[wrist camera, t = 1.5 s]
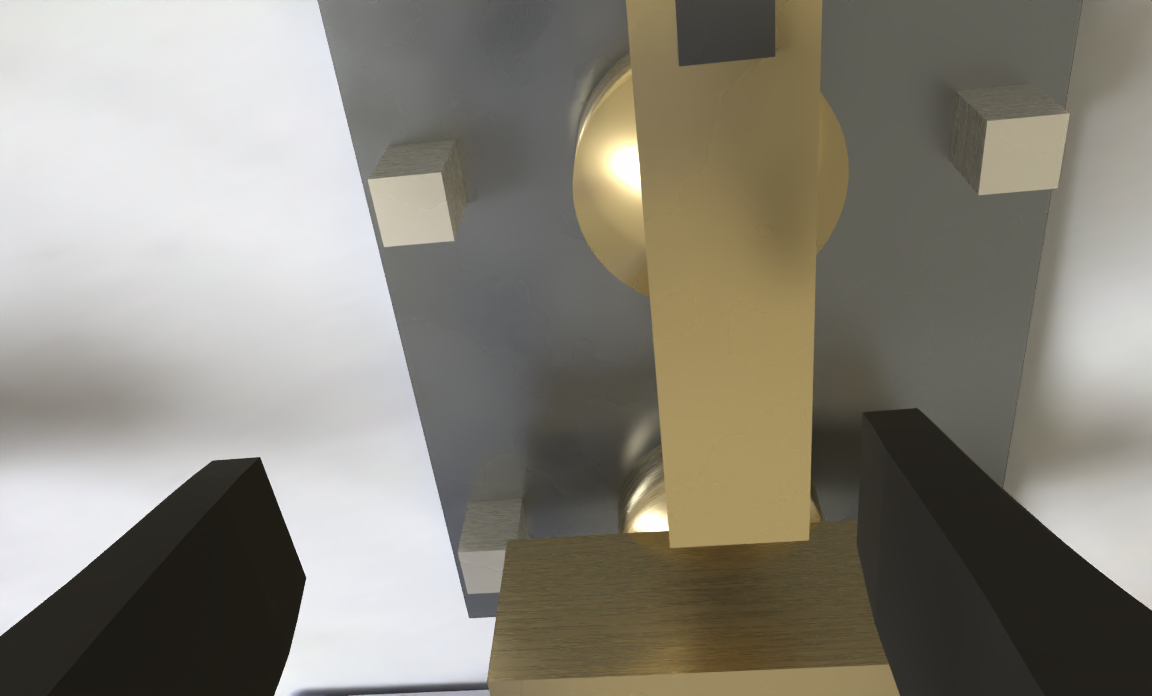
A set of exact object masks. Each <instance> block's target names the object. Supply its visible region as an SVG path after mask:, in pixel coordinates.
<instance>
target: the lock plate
mask: <svg viewBox="0 0 1152 696" xmlns="http://www.w3.org/2000/svg"><path fill="white" fill-rule="evenodd" d="M1082 1H1083V0H822V33H821V74H820V91H821V93H822V94H823V96H824V97H825V99H826V100H827V102H828V104H829V105H830V107H831V108H832V110H833V112H834V114H835V116H836V118H837V120H838V122H839V124H840V127H841V130H842V133H843V136H844V139H845V142H846V148H847V153H848V164H849V178H848V187H847V194H846V198H845V202H844V206H843V209H842V212H841V214H840V217H839V219H838V222H837V224H836V226H835V228H834V230H833V232H832V234H831V235H830V237H829V239H828V240H827V242H826V243H825V245H824V246H823V247H822V249H821V250H820V251H819V253H818V254H817V255H816V280H815V321H814V362H813V403H812V444H811V485H810V526H809V540H807V541H789V542H771V543H753V544H735V545H717V546H699V547H681V548H670V541H669V529H668V517H667V504H666V492H665V479H664V467H663V455H662V442H661V430H660V417H659V405H658V393H657V380H656V368H655V355H654V343H653V331H652V318H651V306H650V297H648V296H646V295H644V294H642V293H639V292H637V291H635V290H634V289H632V288H631V287H629V286H627V285H626V284H624V283H623V282H621V281H620V280H619V279H618V278H616V277H615V276H614V275H613V274H612V273H611V272H609V271H608V270H607V268H606V267H605V266H604V265H603V264H602V263H601V262H600V261H599V260H598V258H597V257H596V255H595V254H594V253H593V251H592V250H591V248H590V247H589V245H588V243H587V241H586V239H585V237H584V235H583V233H582V231H581V228H580V225H579V222H578V219H577V216H576V211H575V206H574V201H573V172H574V162H575V153H576V144H577V135H578V131H579V126H580V122H581V118H582V116H583V113H584V110H585V108H586V105H587V103H588V101H589V99H590V97H591V95H592V93H593V92H594V90H595V88H596V87H597V85H598V84H599V83H600V81H601V80H602V78H603V77H604V76H605V74H606V73H607V72H608V71H609V70H610V69H611V68H612V67H613V66H614V65H615V64H616V63H617V62H618V61H619V60H620V59H621V58H623V57H624V56H625V55H626V54H628V53H629V52H630V45H629V33H628V21H627V8H626V0H318V4H319V8H320V12H321V16H322V20H323V24H324V28H325V33H326V37H327V41H328V45H329V49H330V53H331V57H332V61H333V65H334V69H335V73H336V77H337V81H338V86H339V90H340V94H341V98H342V102H343V106H344V110H345V114H346V118H347V122H348V126H349V130H350V134H351V139H352V143H353V147H354V151H355V155H356V159H357V163H358V167H359V171H360V175H361V179H362V183H363V187H364V191H365V196H366V200H367V204H368V208H369V212H370V216H371V220H372V224H373V228H374V232H375V236H376V240H377V244H378V249H379V253H380V257H381V261H382V265H383V269H384V273H385V277H386V281H387V285H388V289H389V293H390V297H391V301H392V306H393V310H394V314H395V318H396V322H397V326H398V330H399V334H400V338H401V342H402V346H403V350H404V354H405V359H406V363H407V367H408V371H409V375H410V379H411V383H412V387H413V391H414V395H415V399H416V403H417V407H418V412H419V416H420V420H421V424H422V428H423V432H424V436H425V440H426V444H427V448H428V452H429V456H430V460H431V464H432V469H433V473H434V477H435V481H436V485H437V489H438V493H439V497H440V501H441V505H442V509H443V513H444V517H445V522H446V526H447V530H448V534H449V538H450V542H451V546H452V550H453V554H454V558H455V562H456V566H457V570H458V574H459V579H460V583H461V587H462V591H463V595H464V599H465V603H466V607H467V611H468V615H469V618H482V617H496V622H495V629H494V636H493V643H492V650H491V657H490V664H489V671H488V678H487V684H488V688H489V692H490V696H900V694H899V691H898V689H897V686H896V683H895V680H894V677H893V674H892V672H891V669H890V666H889V663H888V660H887V658H886V655H885V652H884V649H883V646H882V643H881V641H880V638H879V635H878V632H877V629H876V626H875V623H874V619H873V615H872V611H871V606H870V602H869V598H868V594H867V589H866V585H865V580H864V576H863V571H862V567H861V562H860V557H859V553H858V548H857V524H858V502H859V481H860V460H861V438H862V417H863V412H871V411H884V410H898V409H911V408H918V409H919V410H920V411H922V412H923V413H924V414H925V415H926V416H927V417H928V418H929V419H930V420H931V421H932V422H934V423H935V424H936V425H937V426H938V427H939V428H940V429H941V430H942V431H943V432H944V433H945V434H946V435H947V436H948V437H949V438H950V439H951V440H952V441H953V442H954V443H955V444H956V445H957V446H958V447H959V448H960V449H961V450H962V451H963V452H964V453H965V454H967V455H968V456H969V457H970V458H971V459H972V460H973V461H974V462H975V463H976V464H977V465H978V466H979V467H980V468H981V469H982V470H983V471H984V472H985V473H987V474H988V475H989V476H990V477H991V478H992V479H993V480H994V481H995V482H996V483H997V484H998V485H999V486H1000V487H1002V488H1003V484H1004V478H1005V472H1006V466H1007V460H1008V454H1009V447H1010V441H1011V435H1012V429H1013V423H1014V417H1015V411H1016V405H1017V399H1018V392H1019V386H1020V380H1021V374H1022V368H1023V362H1024V356H1025V350H1026V343H1027V337H1028V331H1029V325H1030V319H1031V313H1032V307H1033V301H1034V295H1035V288H1036V282H1037V276H1038V270H1039V264H1040V258H1041V252H1042V246H1043V239H1044V233H1045V227H1046V221H1047V215H1048V209H1049V203H1050V197H1051V191H1052V189H1056V188H1058V183H1059V177H1060V171H1061V165H1062V159H1063V153H1064V147H1065V141H1066V135H1067V129H1068V123H1069V117H1070V113H1069V112H1068V111H1066V110H1065V105H1066V99H1067V93H1068V87H1069V80H1070V74H1071V68H1072V62H1073V56H1074V50H1075V44H1076V38H1077V31H1078V25H1079V19H1080V13H1081V7H1082Z"/></svg>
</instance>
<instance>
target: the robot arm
mask: <svg viewBox="0 0 1152 696" xmlns="http://www.w3.org/2000/svg"><path fill="white" fill-rule="evenodd" d="M857 548H858V553H859V557H860V562H861V567H862V571H863V576H864V580H865V585H866V589H867V594H868V598H869V602H870V606H871V611H872V615H873V619H874V623H875V626H876V629H877V632H878V635H879V638H880V641H881V643H882V646H883V649H884V652H885V655H886V658H887V660H888V663H889V666H890V669H891V672H892V674H893V677H894V680H895V683H896V686H897V689H898V691H899V694H900V696H1152V610H1150V609H1149V608H1148V607H1146V606H1145V605H1144V604H1142V603H1141V602H1139V601H1138V600H1137V599H1135V598H1134V597H1132V596H1131V595H1130V594H1128V593H1127V592H1126V591H1124V590H1123V589H1122V588H1120V587H1119V586H1118V585H1117V584H1115V583H1114V582H1113V581H1112V580H1110V579H1109V578H1108V577H1106V576H1105V575H1104V574H1103V573H1101V572H1100V571H1099V570H1098V569H1096V568H1095V567H1094V566H1092V565H1091V564H1090V563H1089V562H1087V561H1086V560H1085V559H1083V558H1082V557H1081V556H1080V555H1079V554H1077V553H1076V552H1075V551H1074V550H1073V549H1071V548H1070V547H1069V546H1068V545H1067V544H1065V543H1064V542H1063V541H1062V540H1061V539H1059V538H1058V537H1057V536H1056V535H1055V534H1054V533H1052V532H1051V531H1050V530H1049V529H1048V528H1047V527H1046V526H1044V525H1043V524H1042V523H1041V522H1040V521H1039V520H1038V519H1036V518H1035V517H1034V516H1033V515H1032V514H1031V513H1030V512H1028V511H1027V510H1026V509H1025V508H1024V507H1023V506H1022V505H1020V504H1019V503H1018V502H1017V501H1016V500H1015V499H1014V498H1013V497H1011V496H1010V495H1009V494H1008V493H1007V492H1006V491H1005V490H1004V489H1003V488H1002V487H1000V486H999V485H998V484H997V483H996V482H995V481H994V480H993V479H992V478H991V477H990V476H989V475H988V474H987V473H985V472H984V471H983V470H982V469H981V468H980V467H979V466H978V465H977V464H976V463H975V462H974V461H973V460H972V459H971V458H970V457H969V456H968V455H967V454H965V453H964V452H963V451H962V450H961V449H960V448H959V447H958V446H957V445H956V444H955V443H954V442H953V441H952V440H951V439H950V438H949V437H948V436H947V435H946V434H945V433H944V432H943V431H942V430H941V429H940V428H939V427H938V426H937V425H936V424H935V423H934V422H932V421H931V420H930V419H929V418H928V417H927V416H926V415H925V414H924V413H923V412H922V411H920V410H919V409H918V408H911V409H898V410H884V411H871V412H863V417H862V438H861V460H860V481H859V502H858V524H857ZM305 581H306V576H305V573H304V571H303V568H302V566H301V563H300V560H299V558H298V555H297V553H296V550H295V547H294V545H293V542H292V539H291V537H290V534H289V532H288V529H287V526H286V524H285V521H284V519H283V516H282V513H281V511H280V508H279V506H278V503H277V500H276V498H275V495H274V492H273V490H272V487H271V485H270V482H269V479H268V477H267V474H266V472H265V469H264V466H263V464H262V461H261V459H260V457H256V458H243V459H230V460H216V461H212V462H210V463H209V464H208V465H206V466H205V467H204V468H202V469H201V470H200V471H198V472H197V473H196V474H195V475H193V476H192V477H191V478H190V479H188V480H187V481H186V482H185V483H184V484H182V485H181V486H180V487H179V488H178V489H176V490H175V491H174V492H173V493H172V494H171V495H169V496H168V497H167V498H166V499H165V500H164V501H162V502H161V503H160V504H159V505H158V506H157V507H155V508H154V509H153V510H152V511H151V512H150V513H148V514H147V515H146V516H145V517H144V518H143V519H142V520H140V521H139V522H138V523H137V524H136V525H135V526H133V527H132V528H131V529H130V530H129V531H128V532H126V533H125V534H124V535H123V536H122V537H121V538H119V539H118V540H117V541H116V542H115V543H114V544H112V545H111V546H110V547H109V548H108V549H107V550H105V551H104V552H103V553H102V554H101V555H100V556H98V557H97V558H96V559H95V560H94V561H93V562H91V563H90V564H89V565H88V566H87V567H86V568H84V569H83V570H82V571H81V572H80V573H79V574H77V575H76V576H75V577H74V578H73V579H71V580H70V581H69V582H68V583H67V584H65V585H64V586H63V587H61V588H60V589H59V590H58V591H56V592H55V593H54V594H53V595H51V596H50V597H49V598H48V599H46V600H45V601H44V602H43V603H41V604H40V605H39V606H38V607H36V608H35V609H34V610H33V611H31V612H30V613H29V614H28V615H26V616H25V617H24V618H23V619H21V620H20V621H19V622H18V623H16V624H15V625H14V626H13V627H11V628H10V629H9V630H8V631H6V632H5V633H4V634H3V635H1V636H0V696H274V694H275V691H276V689H277V686H278V683H279V681H280V678H281V675H282V672H283V670H284V667H285V664H286V661H287V658H288V655H289V652H290V648H291V644H292V640H293V636H294V631H295V627H296V623H297V619H298V614H299V610H300V605H301V600H302V595H303V590H304V586H305ZM350 696H490V692H489V690H468V691H444V692H420V693H397V694H373V695H350Z"/></svg>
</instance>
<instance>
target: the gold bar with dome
mask: <svg viewBox="0 0 1152 696" xmlns="http://www.w3.org/2000/svg"><path fill="white" fill-rule="evenodd" d="M626 8H627V21H628V33H629V45H630V52H629V53H628V54H626V55H625V56H624V57H623V58H621V59H620V60H619V61H618V62H617V63H616V64H615V65H614V66H613V67H612V68H611V69H610V70H609V71H608V72H607V73H606V74H605V76H604V77H603V78H602V80H601V81H600V83H599V84H598V85H597V87H596V88H595V90H594V92H593V93H592V95H591V97H590V99H589V101H588V103H587V105H586V108H585V110H584V113H583V116H582V118H581V122H580V126H579V131H578V135H577V144H576V153H575V162H574V172H573V201H574V206H575V211H576V216H577V219H578V222H579V225H580V228H581V231H582V233H583V235H584V237H585V239H586V241H587V243H588V245H589V247H590V248H591V250H592V251H593V253H594V254H595V255H596V257H597V258H598V260H599V261H600V262H601V263H602V264H603V265H604V266H605V267H606V268H607V270H608V271H609V272H611V273H612V274H613V275H614V276H615V277H616V278H618V279H619V280H620V281H621V282H623V283H624V284H626V285H627V286H629V287H631V288H632V289H634V290H635V291H637V292H639V293H642V294H644V295H646V296H648V297H650V306H651V318H652V331H653V343H654V355H655V368H656V380H657V393H658V405H659V417H660V430H661V442H662V455H663V467H664V479H665V492H666V504H667V517H668V529H669V541H670V548H681V547H699V546H717V545H735V544H753V543H771V542H789V541H807V540H809V526H810V485H811V444H812V403H813V362H814V321H815V280H816V255H817V254H818V253H819V251H820V250H821V249H822V247H823V246H824V245H825V243H826V242H827V240H828V239H829V237H830V235H831V234H832V232H833V230H834V228H835V226H836V224H837V222H838V219H839V217H840V214H841V212H842V209H843V206H844V202H845V198H846V194H847V187H848V178H849V164H848V153H847V148H846V142H845V139H844V136H843V133H842V130H841V127H840V124H839V122H838V120H837V118H836V116H835V114H834V112H833V110H832V108H831V107H830V105H829V104H828V102H827V100H826V99H825V97H824V96H823V94H822V93H821V91H820V74H821V33H822V0H626Z"/></svg>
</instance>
